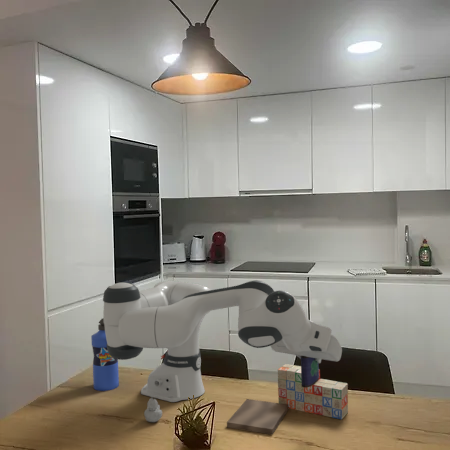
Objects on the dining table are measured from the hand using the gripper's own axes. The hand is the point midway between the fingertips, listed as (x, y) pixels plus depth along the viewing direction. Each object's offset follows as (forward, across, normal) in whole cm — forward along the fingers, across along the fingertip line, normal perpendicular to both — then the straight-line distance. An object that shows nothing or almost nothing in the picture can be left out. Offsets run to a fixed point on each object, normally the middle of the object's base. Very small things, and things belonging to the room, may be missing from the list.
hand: (311, 359), depth 140 cm
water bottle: (+12, -79, -18) cm, 81 cm away
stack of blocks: (+24, -5, -5) cm, 26 cm away
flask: (+4, 0, -5) cm, 7 cm away
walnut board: (+14, -17, -15) cm, 27 cm away
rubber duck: (+2, -45, -27) cm, 52 cm away
